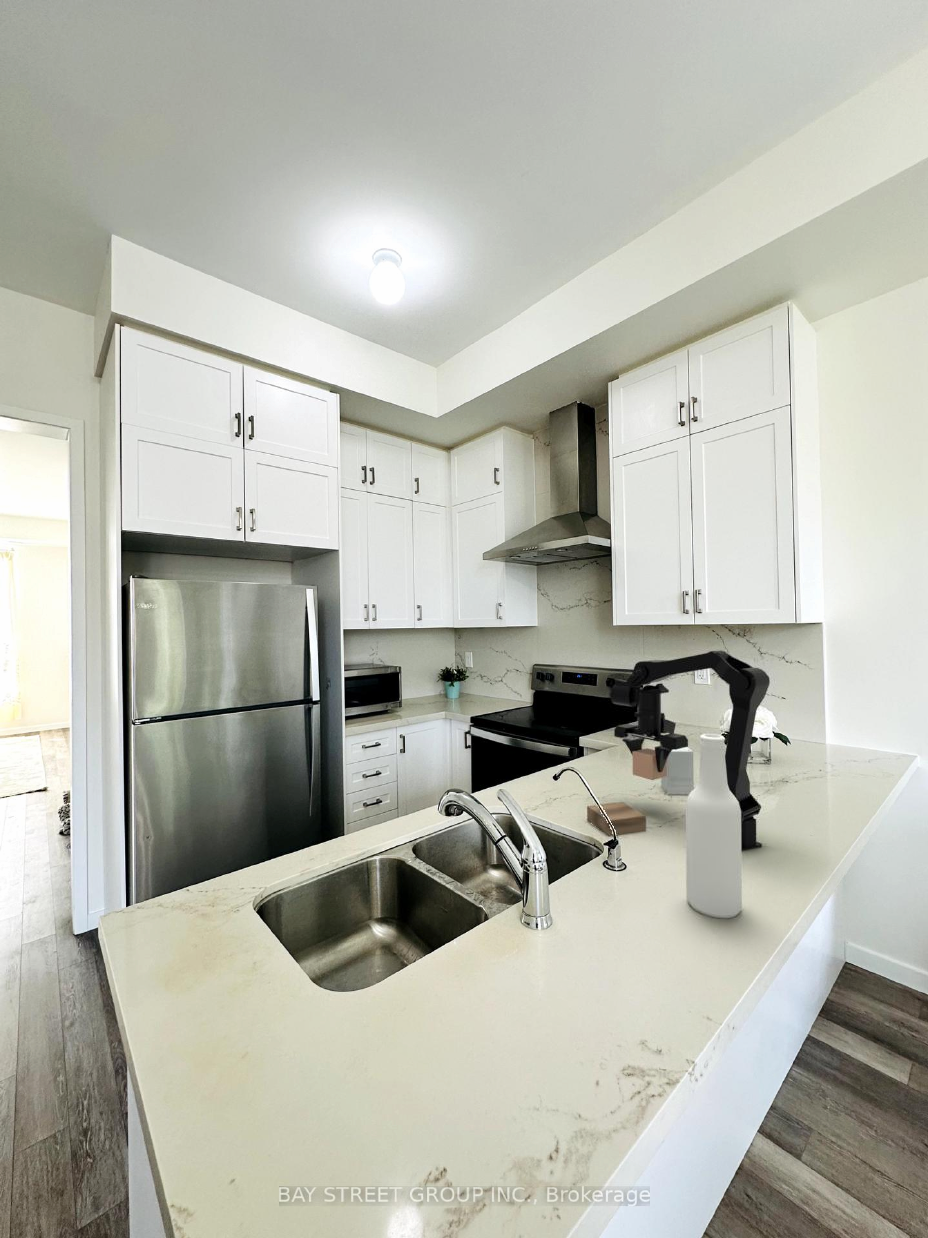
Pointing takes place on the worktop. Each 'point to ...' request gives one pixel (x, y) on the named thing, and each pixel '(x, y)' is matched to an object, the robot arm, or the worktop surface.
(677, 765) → the supplement box
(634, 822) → the walnut block
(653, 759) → the terracotta cube
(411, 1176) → the worktop surface
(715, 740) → the alcohol
